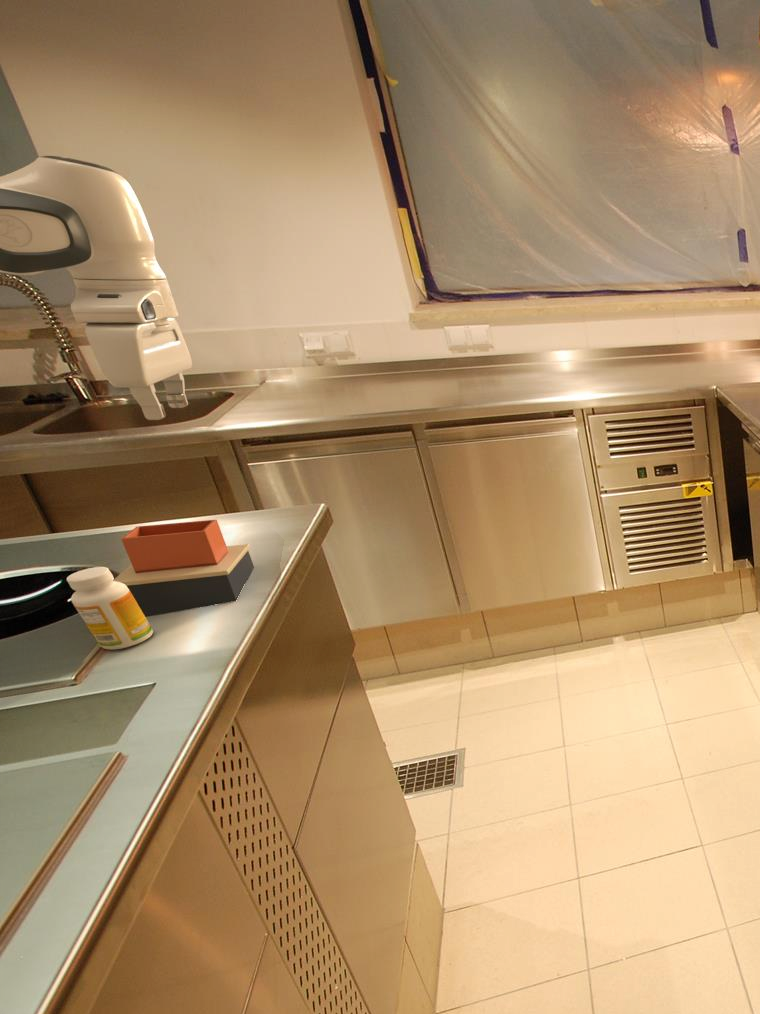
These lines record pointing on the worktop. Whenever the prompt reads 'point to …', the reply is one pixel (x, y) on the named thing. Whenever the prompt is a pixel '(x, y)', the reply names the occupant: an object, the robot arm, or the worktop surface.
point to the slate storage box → (190, 584)
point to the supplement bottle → (108, 609)
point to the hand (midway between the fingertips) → (168, 412)
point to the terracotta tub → (175, 546)
